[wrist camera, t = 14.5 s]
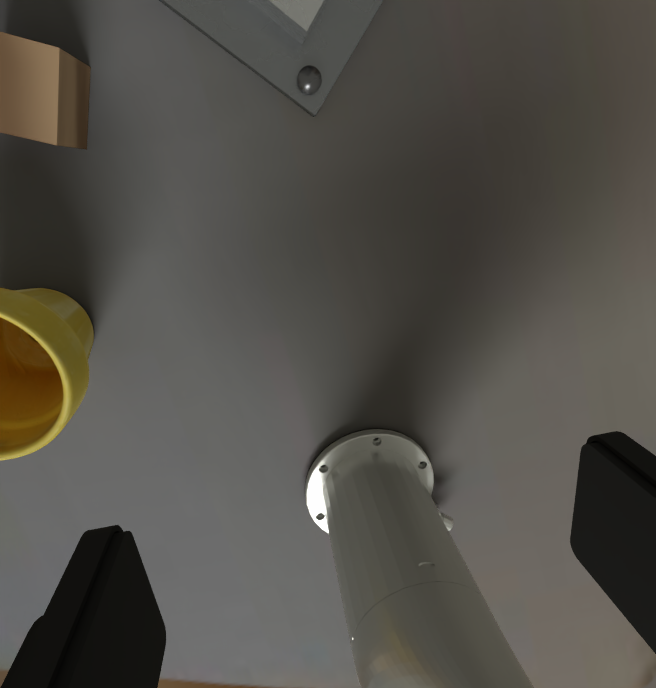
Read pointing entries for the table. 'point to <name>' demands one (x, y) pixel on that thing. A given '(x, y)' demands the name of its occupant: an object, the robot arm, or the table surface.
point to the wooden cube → (43, 93)
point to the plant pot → (40, 366)
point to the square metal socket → (285, 39)
